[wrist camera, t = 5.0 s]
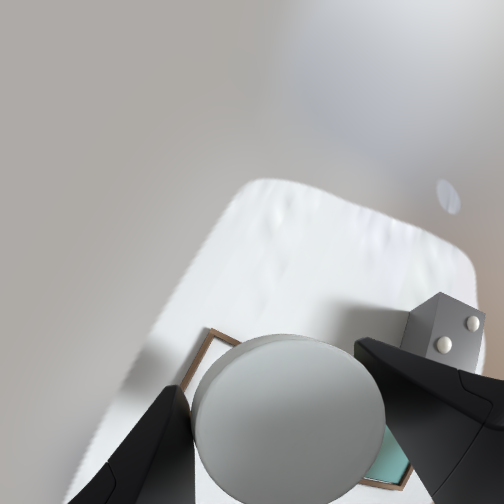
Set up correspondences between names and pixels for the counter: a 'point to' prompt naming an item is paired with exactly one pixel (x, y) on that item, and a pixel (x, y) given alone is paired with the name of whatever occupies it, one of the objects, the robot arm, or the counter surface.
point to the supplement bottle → (287, 421)
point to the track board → (387, 462)
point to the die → (445, 332)
